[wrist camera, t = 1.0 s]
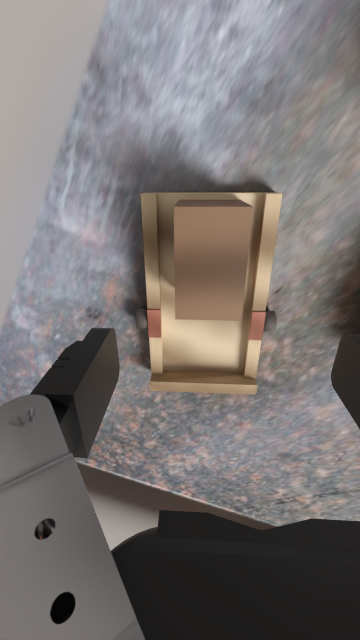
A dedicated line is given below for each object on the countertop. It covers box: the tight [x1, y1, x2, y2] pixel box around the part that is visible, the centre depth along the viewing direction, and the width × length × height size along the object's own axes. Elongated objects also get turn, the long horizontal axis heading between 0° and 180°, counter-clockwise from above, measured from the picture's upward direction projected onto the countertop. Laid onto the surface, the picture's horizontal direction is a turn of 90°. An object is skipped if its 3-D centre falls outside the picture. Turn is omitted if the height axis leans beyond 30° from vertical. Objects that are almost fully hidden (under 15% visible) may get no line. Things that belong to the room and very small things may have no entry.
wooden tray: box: [136, 192, 282, 394], centre depth 27 cm, size 19×13×3 cm
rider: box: [174, 200, 253, 321], centre depth 22 cm, size 8×5×6 cm, turn 0°
